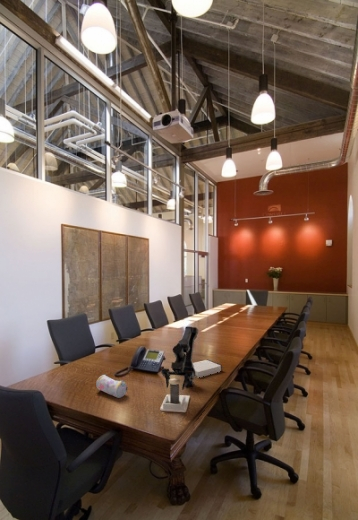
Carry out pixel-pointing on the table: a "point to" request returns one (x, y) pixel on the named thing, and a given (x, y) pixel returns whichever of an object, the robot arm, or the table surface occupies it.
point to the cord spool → (174, 391)
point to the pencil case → (111, 386)
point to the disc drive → (206, 368)
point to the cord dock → (175, 407)
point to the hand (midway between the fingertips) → (174, 388)
